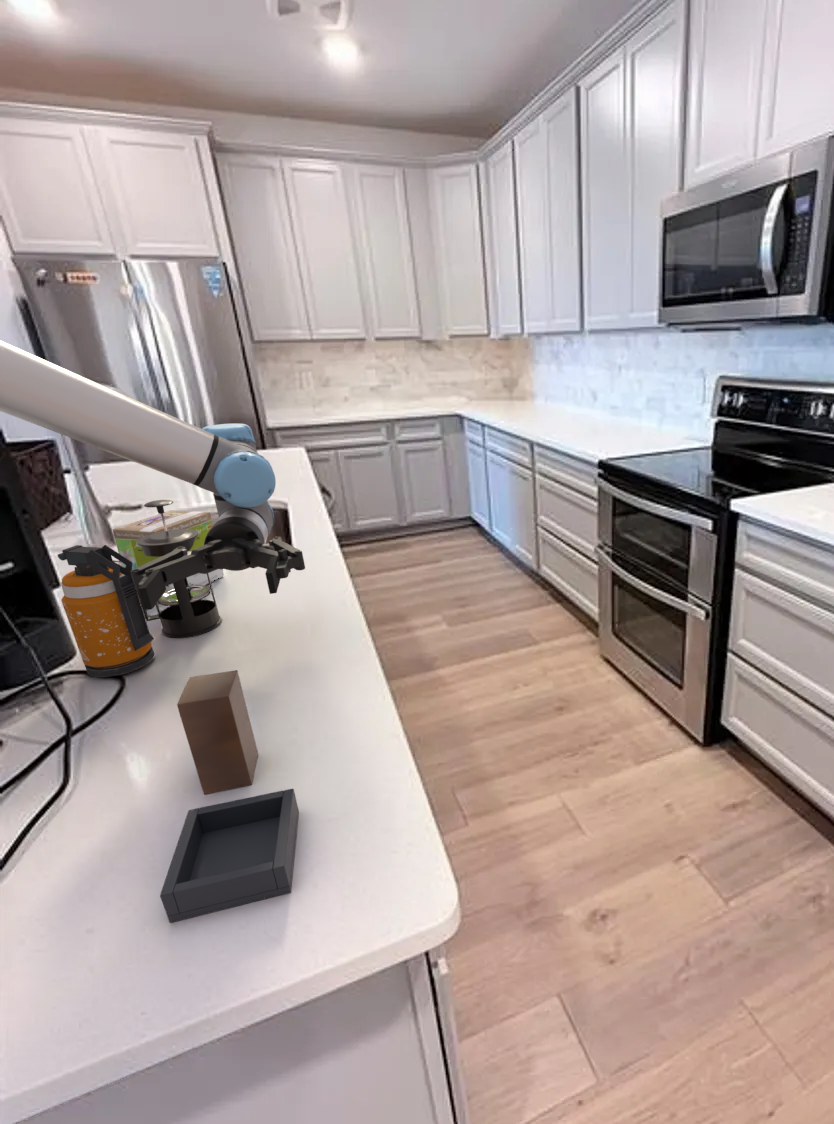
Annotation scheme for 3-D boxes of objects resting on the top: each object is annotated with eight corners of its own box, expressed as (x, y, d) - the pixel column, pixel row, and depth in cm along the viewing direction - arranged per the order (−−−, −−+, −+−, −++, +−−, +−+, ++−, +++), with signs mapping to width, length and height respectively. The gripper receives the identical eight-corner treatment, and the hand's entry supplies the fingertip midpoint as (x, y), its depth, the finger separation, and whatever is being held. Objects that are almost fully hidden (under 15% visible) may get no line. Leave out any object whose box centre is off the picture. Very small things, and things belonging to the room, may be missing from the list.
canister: (123, 650, 102) (85, 535, 95) (180, 656, 100) (146, 539, 92) (73, 677, 94) (27, 554, 86) (134, 684, 92) (93, 558, 84)
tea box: (175, 603, 120) (154, 530, 115) (130, 600, 122) (108, 528, 116) (226, 575, 134) (210, 509, 128) (186, 573, 136) (168, 508, 130)
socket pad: (169, 923, 54) (159, 895, 53) (196, 834, 64) (188, 809, 63) (291, 892, 57) (284, 865, 56) (299, 812, 67) (293, 787, 65)
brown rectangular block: (203, 794, 69) (176, 704, 65) (213, 762, 75) (189, 677, 70) (252, 785, 71) (228, 696, 66) (258, 754, 76) (237, 669, 72)
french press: (223, 610, 117) (193, 491, 108) (228, 628, 109) (196, 502, 100) (151, 625, 111) (113, 500, 102) (150, 645, 104) (109, 513, 95)
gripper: (329, 553, 97) (324, 604, 79) (150, 573, 90) (99, 635, 72) (320, 507, 94) (314, 549, 76) (135, 525, 88) (78, 575, 69)
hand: (209, 591), depth 74 cm, fingers open, 13 cm apart
